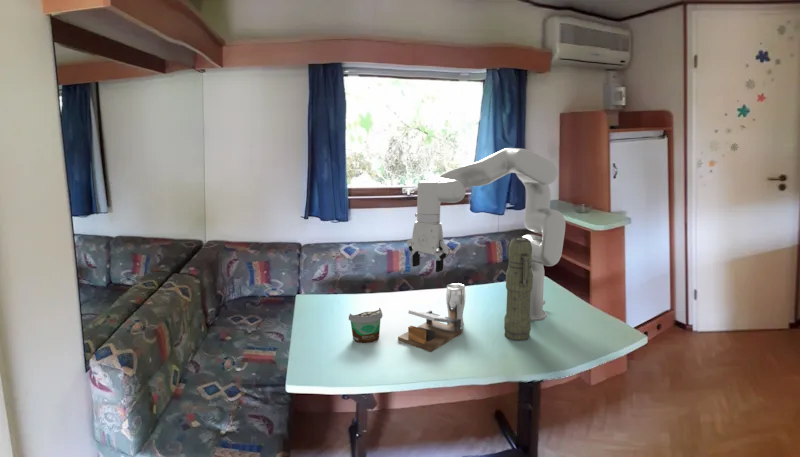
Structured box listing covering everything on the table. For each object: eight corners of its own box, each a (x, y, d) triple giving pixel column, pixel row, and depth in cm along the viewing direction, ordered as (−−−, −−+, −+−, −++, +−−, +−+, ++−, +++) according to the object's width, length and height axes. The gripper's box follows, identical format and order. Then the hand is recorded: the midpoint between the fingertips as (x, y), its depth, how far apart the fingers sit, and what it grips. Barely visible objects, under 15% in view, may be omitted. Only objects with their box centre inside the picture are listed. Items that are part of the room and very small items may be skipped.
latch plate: (430, 323, 188) (430, 308, 187) (462, 333, 179) (462, 318, 178) (398, 340, 174) (397, 325, 173) (430, 352, 165) (430, 335, 164)
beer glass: (464, 329, 183) (464, 289, 179) (445, 328, 184) (445, 288, 181) (465, 321, 189) (466, 283, 186) (447, 320, 191) (447, 282, 187)
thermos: (520, 327, 183) (524, 234, 176) (536, 341, 172) (541, 241, 164) (498, 330, 181) (500, 235, 174) (512, 344, 170) (516, 243, 162)
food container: (356, 347, 169) (355, 319, 167) (349, 341, 174) (348, 313, 172) (389, 340, 175) (388, 313, 172) (381, 333, 180) (380, 307, 178)
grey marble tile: (431, 317, 185) (432, 312, 185) (456, 324, 178) (457, 320, 178) (407, 314, 174) (409, 309, 174) (433, 321, 167) (434, 317, 167)
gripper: (401, 216, 168) (400, 266, 171) (443, 223, 157) (442, 276, 161) (415, 213, 174) (414, 261, 177) (456, 220, 163) (455, 271, 166)
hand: (427, 268), depth 169 cm, fingers open, 9 cm apart
